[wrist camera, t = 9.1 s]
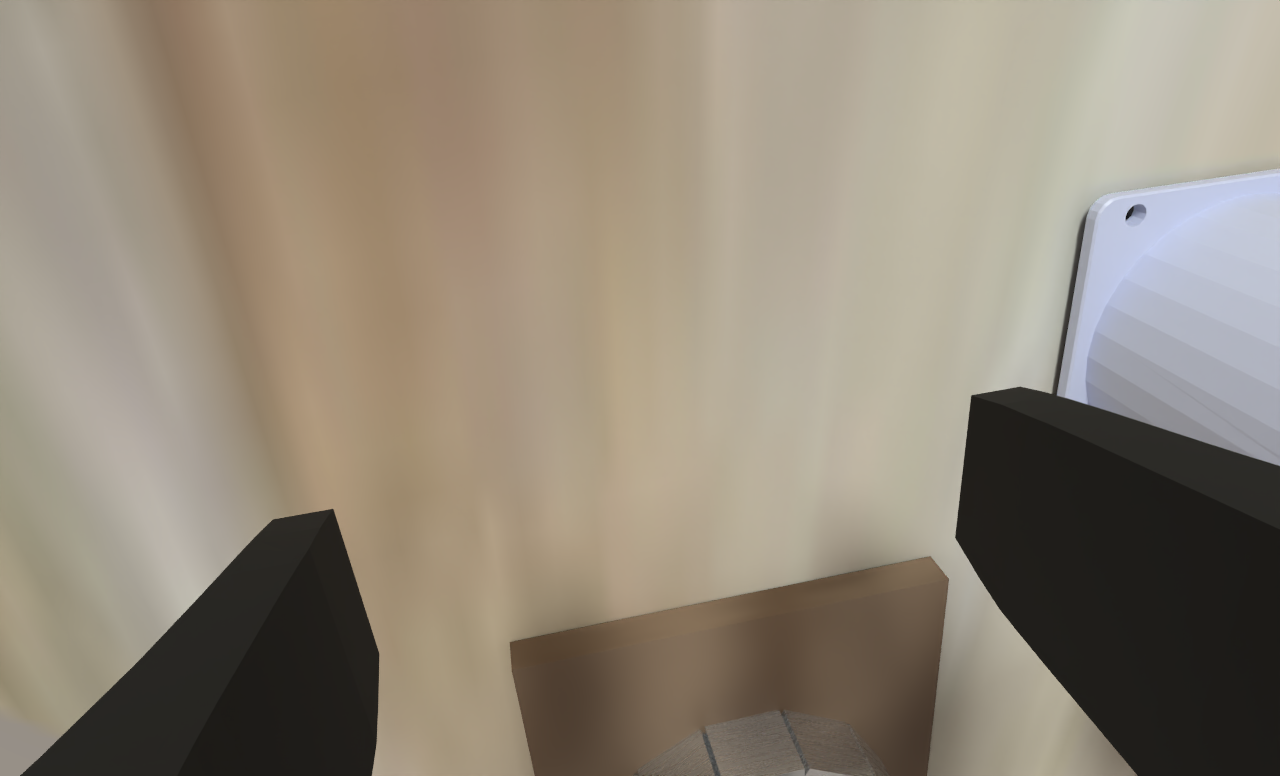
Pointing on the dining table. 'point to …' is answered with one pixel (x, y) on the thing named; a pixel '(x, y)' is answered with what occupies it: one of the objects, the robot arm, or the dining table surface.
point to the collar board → (745, 683)
